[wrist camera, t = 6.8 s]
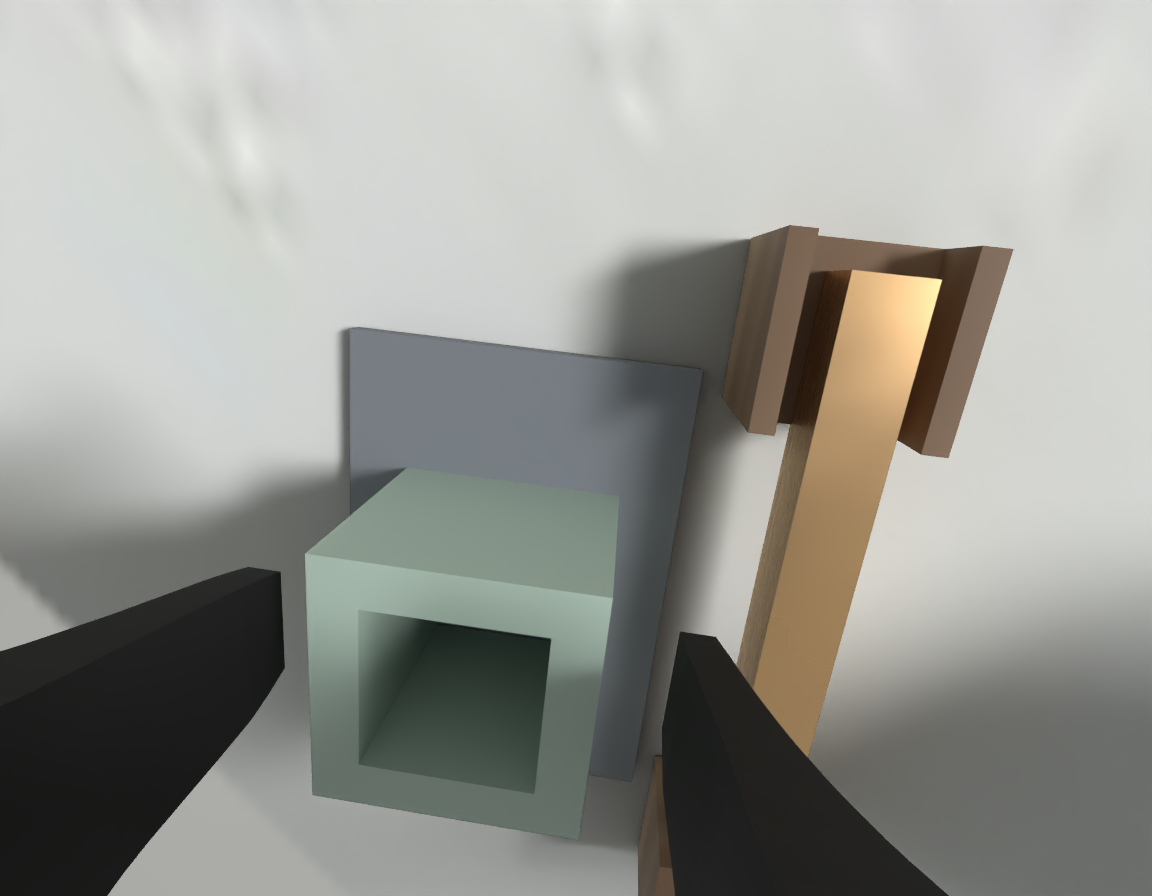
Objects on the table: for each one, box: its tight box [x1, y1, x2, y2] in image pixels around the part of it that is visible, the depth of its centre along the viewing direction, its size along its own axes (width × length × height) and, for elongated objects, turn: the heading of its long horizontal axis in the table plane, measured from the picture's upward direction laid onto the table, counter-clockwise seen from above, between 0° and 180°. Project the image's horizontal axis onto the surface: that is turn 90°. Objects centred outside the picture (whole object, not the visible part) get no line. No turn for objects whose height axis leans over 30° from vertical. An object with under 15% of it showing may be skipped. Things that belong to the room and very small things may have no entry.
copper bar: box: [736, 270, 942, 757], centre depth 11 cm, size 1×14×1 cm, turn 174°
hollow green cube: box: [305, 468, 619, 840], centre depth 11 cm, size 4×4×4 cm
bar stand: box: [638, 225, 1013, 896], centre depth 11 cm, size 3×15×3 cm, turn 174°
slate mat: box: [349, 327, 703, 782], centre depth 13 cm, size 7×10×1 cm
